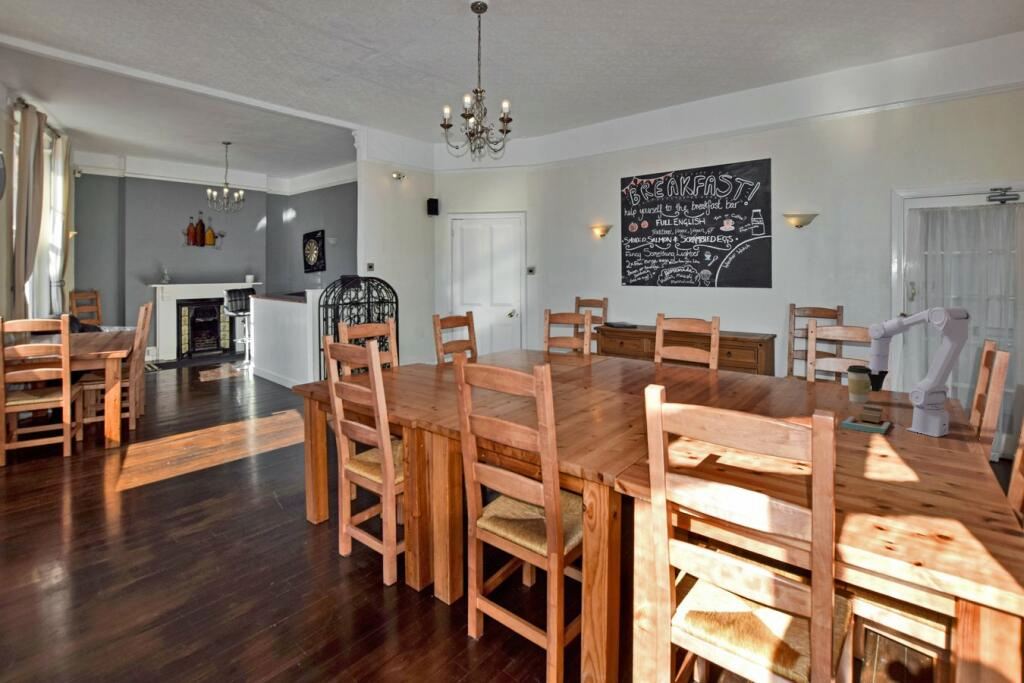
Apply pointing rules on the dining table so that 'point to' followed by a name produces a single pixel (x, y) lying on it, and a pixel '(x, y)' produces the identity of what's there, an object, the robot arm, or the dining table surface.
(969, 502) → the dining table surface
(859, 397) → the coffee cup
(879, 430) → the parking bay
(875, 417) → the brown striped block
